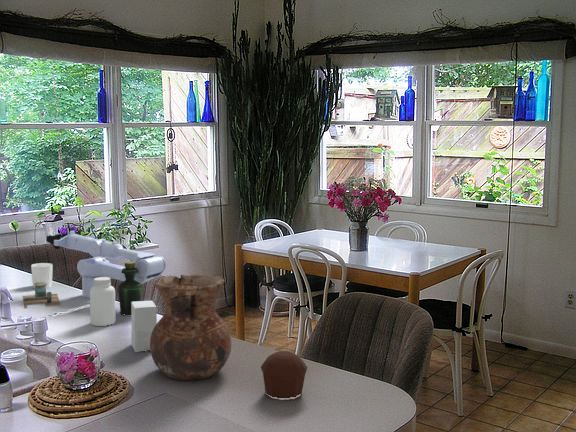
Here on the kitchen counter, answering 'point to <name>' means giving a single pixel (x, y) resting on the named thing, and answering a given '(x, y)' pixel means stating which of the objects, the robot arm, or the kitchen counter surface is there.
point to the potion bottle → (129, 288)
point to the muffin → (283, 374)
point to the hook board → (42, 300)
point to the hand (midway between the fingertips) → (55, 237)
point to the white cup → (42, 273)
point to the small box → (142, 324)
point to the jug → (190, 328)
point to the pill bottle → (102, 302)
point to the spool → (40, 289)
